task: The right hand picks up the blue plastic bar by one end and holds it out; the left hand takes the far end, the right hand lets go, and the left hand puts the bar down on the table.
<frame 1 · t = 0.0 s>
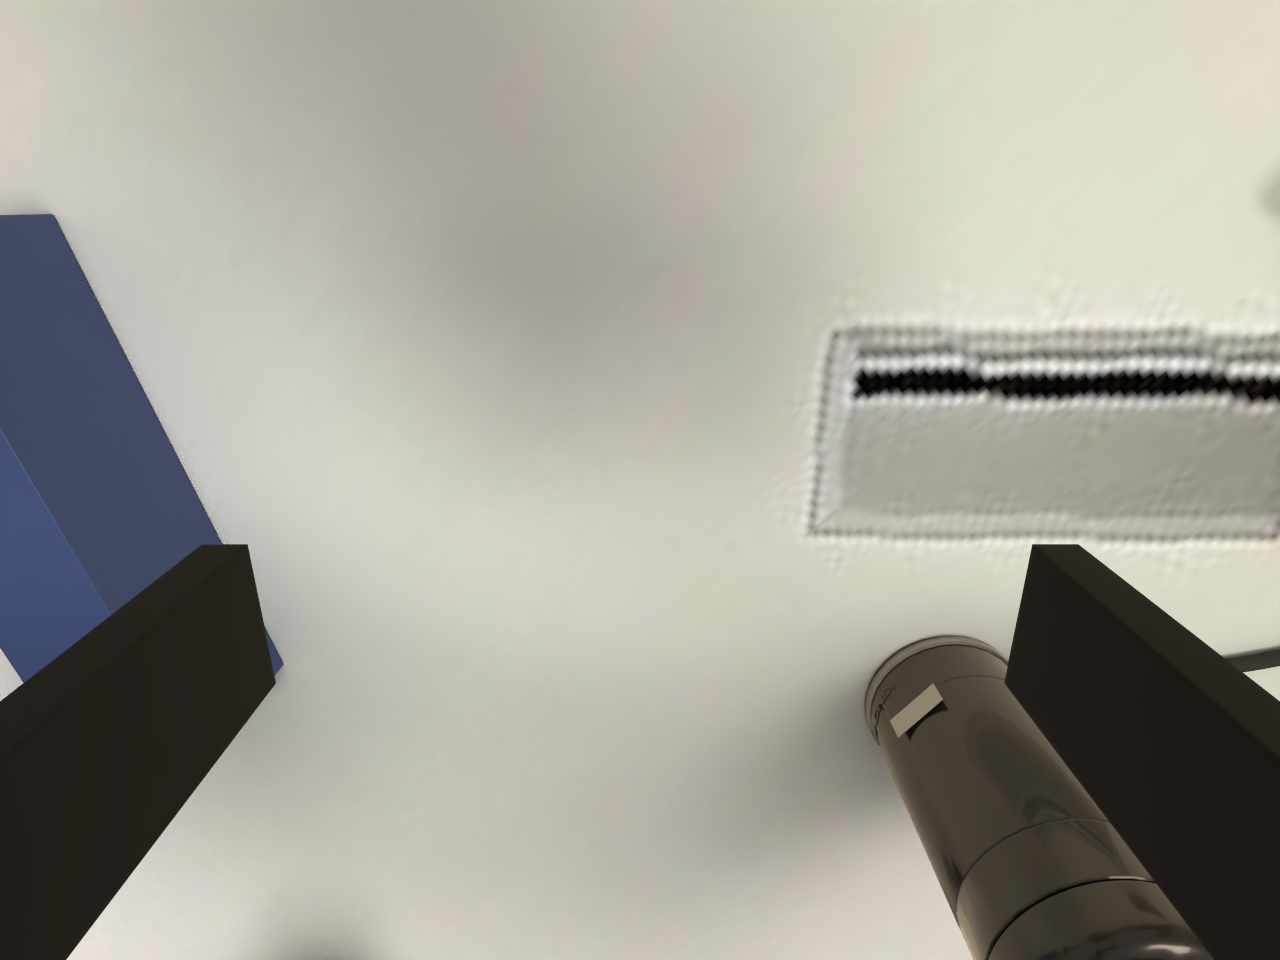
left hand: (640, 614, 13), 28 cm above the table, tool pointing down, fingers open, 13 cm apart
bar: (133, 476, 42), on the table
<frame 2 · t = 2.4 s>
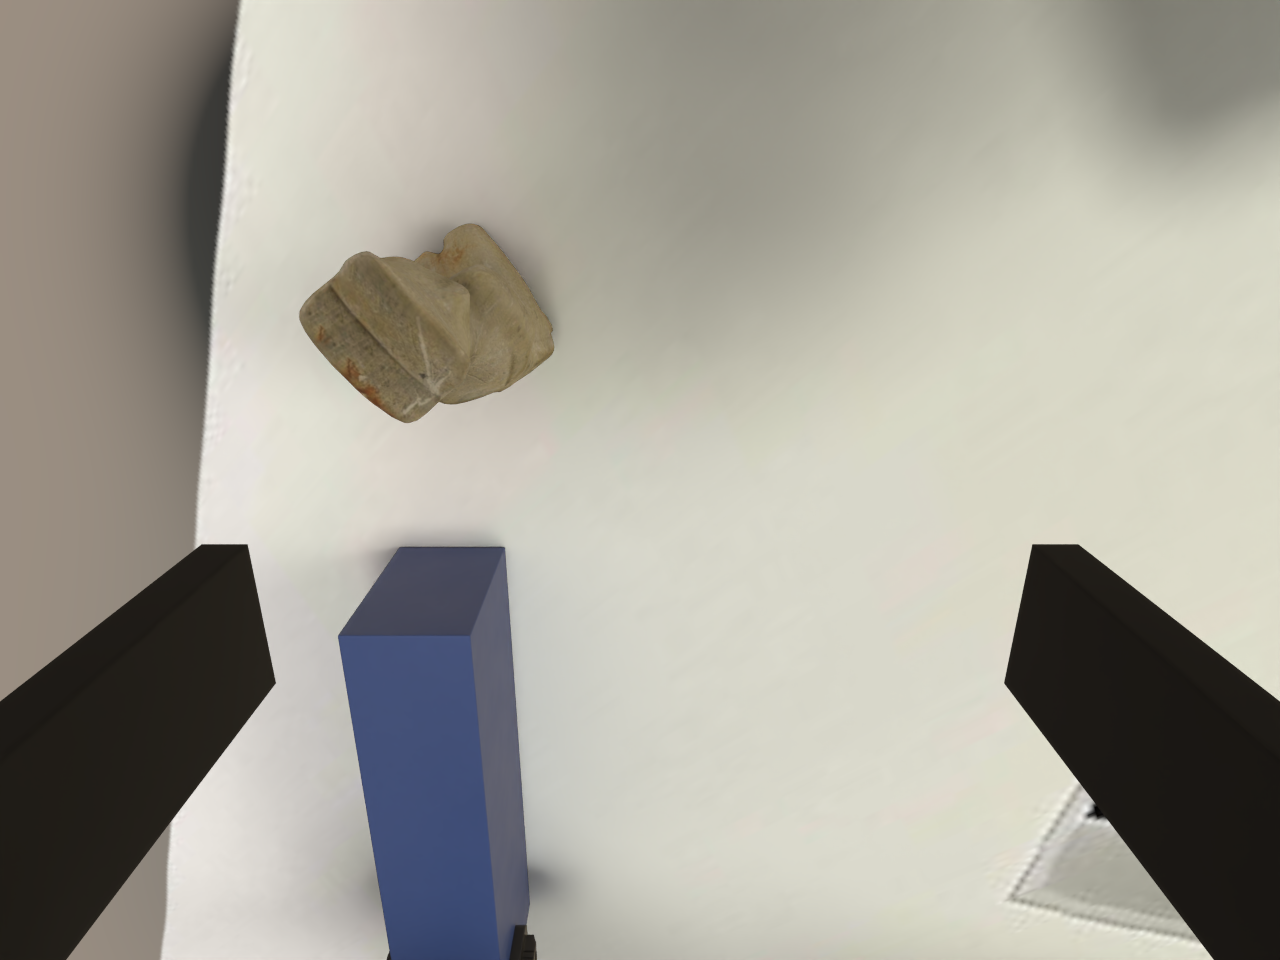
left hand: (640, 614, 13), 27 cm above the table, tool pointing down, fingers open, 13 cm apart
sculpture: (492, 301, 37), on the table
bar: (471, 743, 46), on the table, touching right hand
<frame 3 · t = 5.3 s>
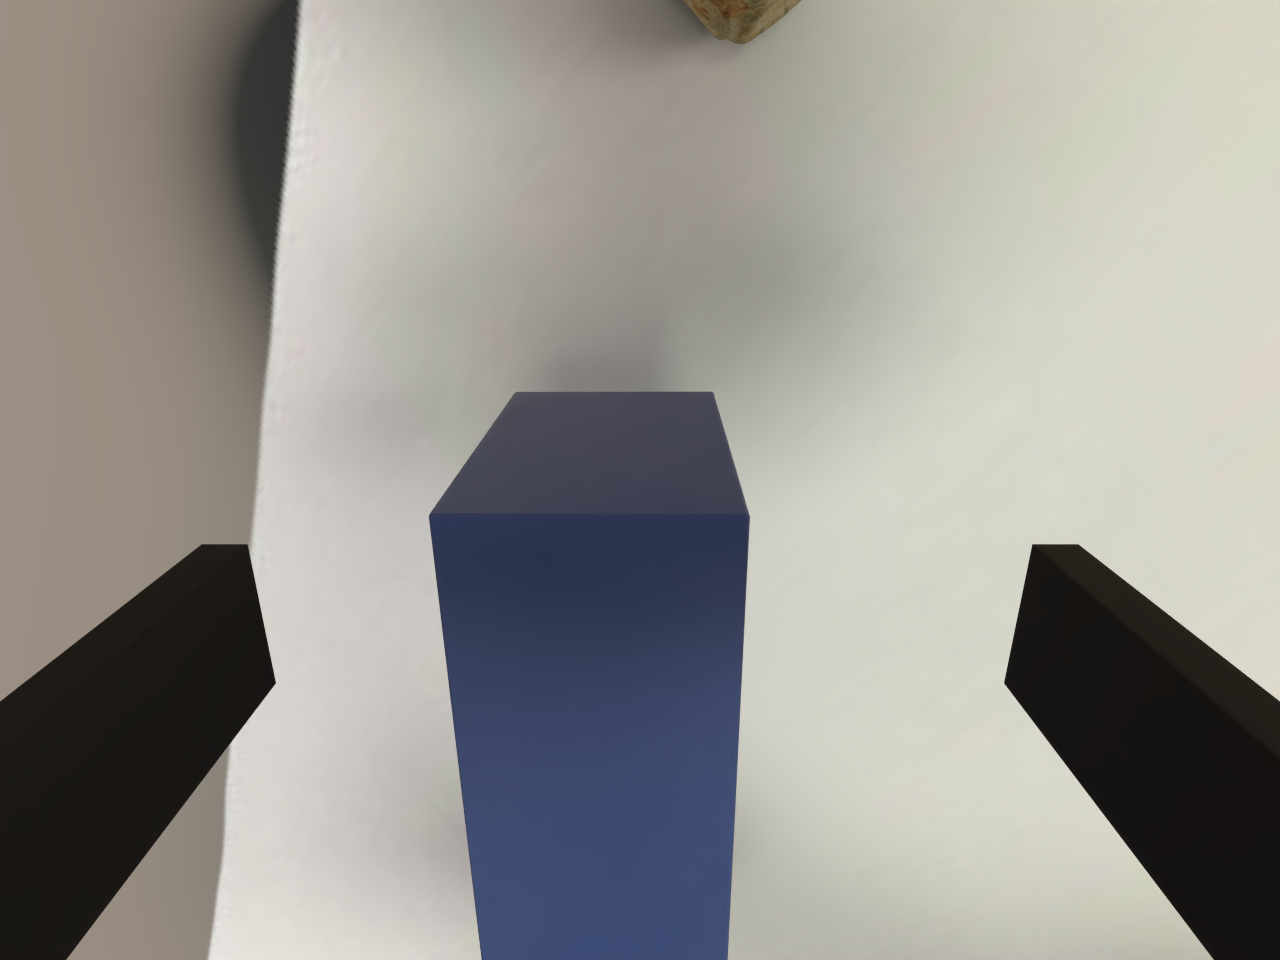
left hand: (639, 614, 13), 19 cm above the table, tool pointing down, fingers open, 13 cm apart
bar: (621, 755, 27), point 9 cm above the table, touching right hand
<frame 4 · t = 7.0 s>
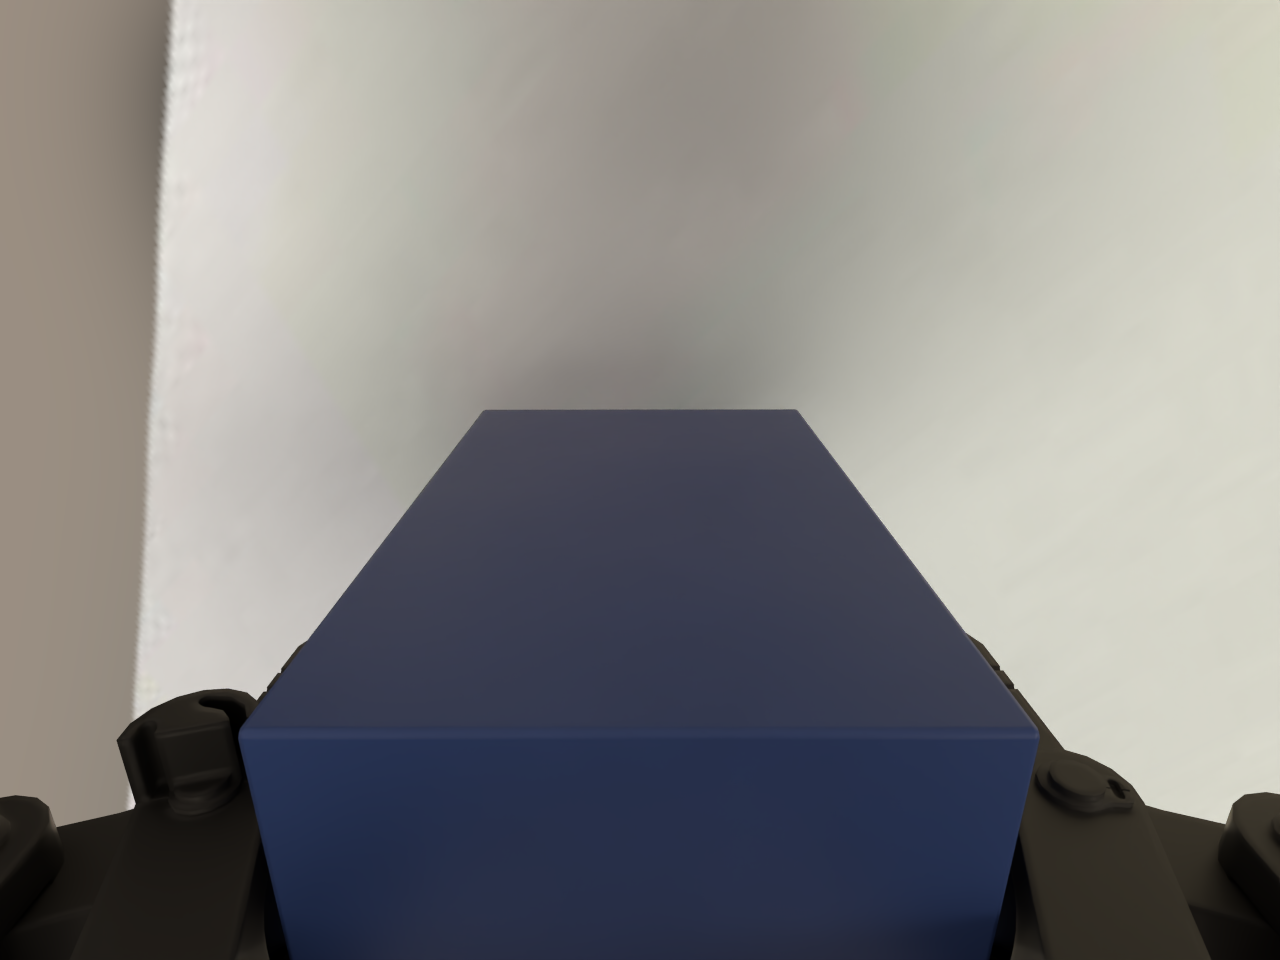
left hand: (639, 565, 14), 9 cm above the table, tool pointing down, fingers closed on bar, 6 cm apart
bar: (641, 932, 19), point 9 cm above the table, touching left hand, right hand
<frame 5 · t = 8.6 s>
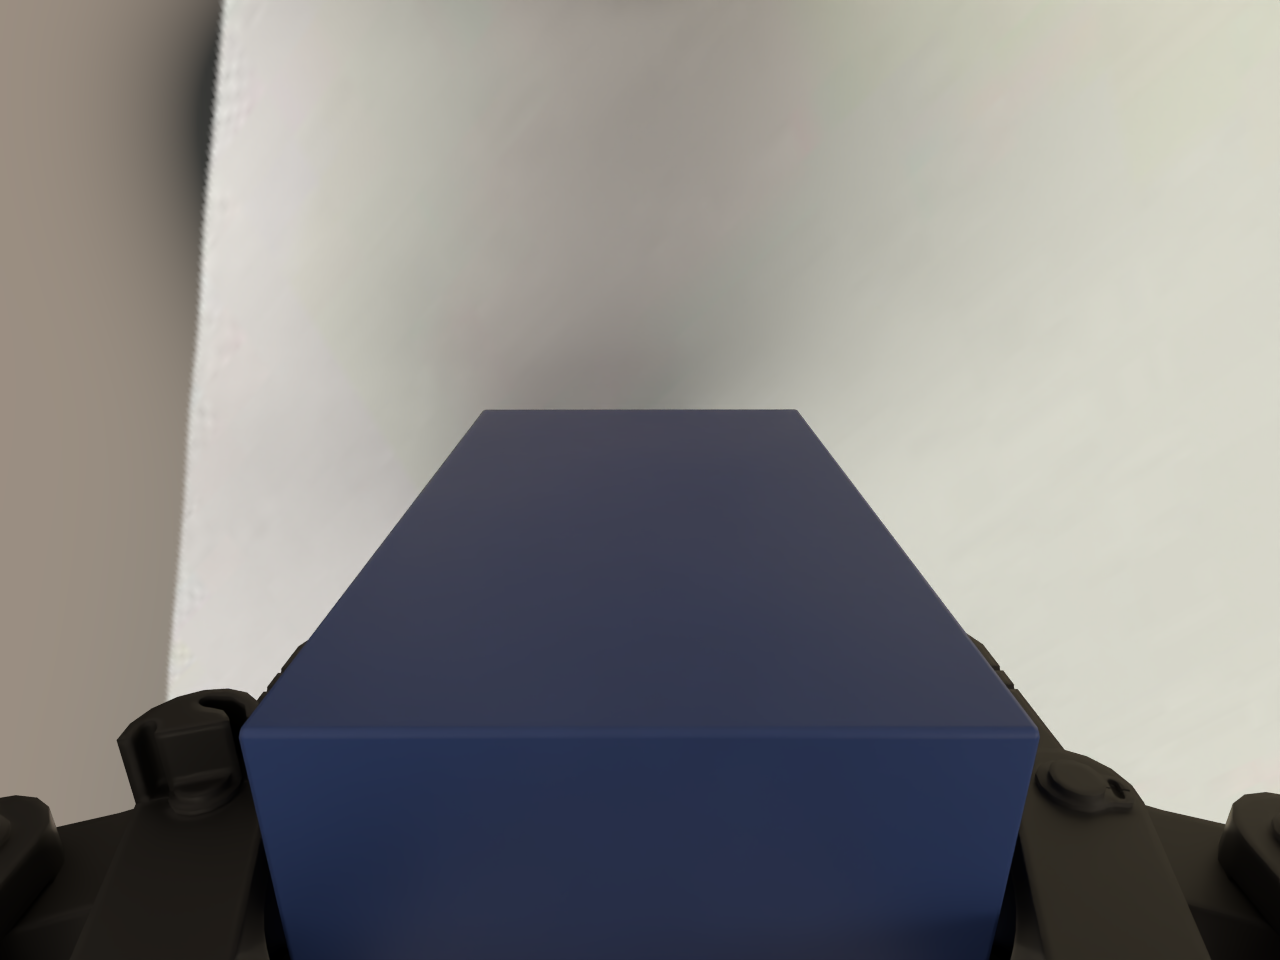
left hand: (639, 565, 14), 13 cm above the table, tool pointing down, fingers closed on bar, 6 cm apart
bar: (640, 931, 19), point 12 cm above the table, touching left hand
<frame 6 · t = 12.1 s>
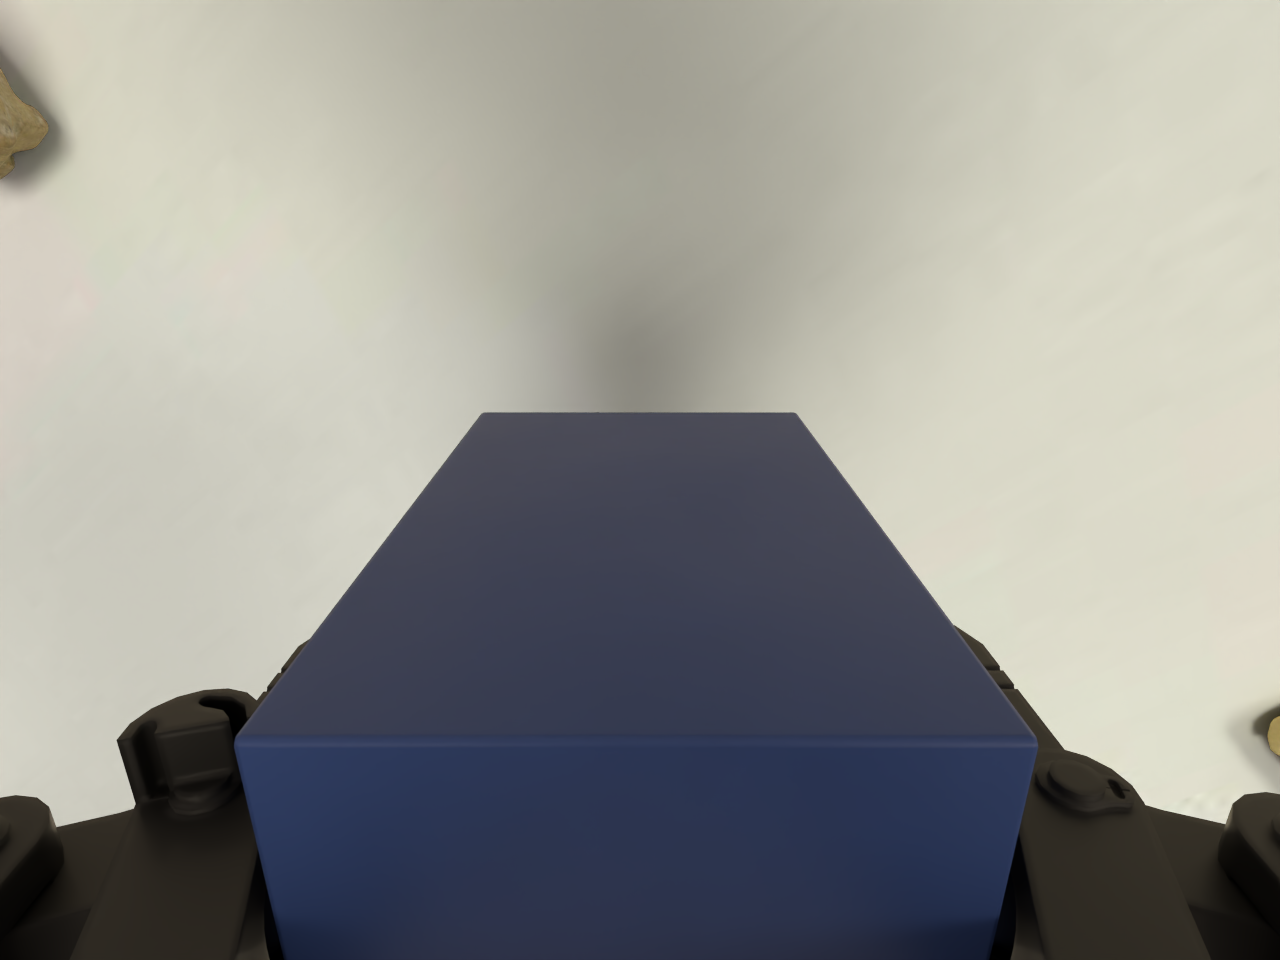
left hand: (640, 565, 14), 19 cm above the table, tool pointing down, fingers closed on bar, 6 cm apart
bar: (639, 934, 19), point 19 cm above the table, touching left hand
when the left hand's fingers open (2 cm above the table, at t = 17.6 s): bar stays where it is, point 1 cm above the table.
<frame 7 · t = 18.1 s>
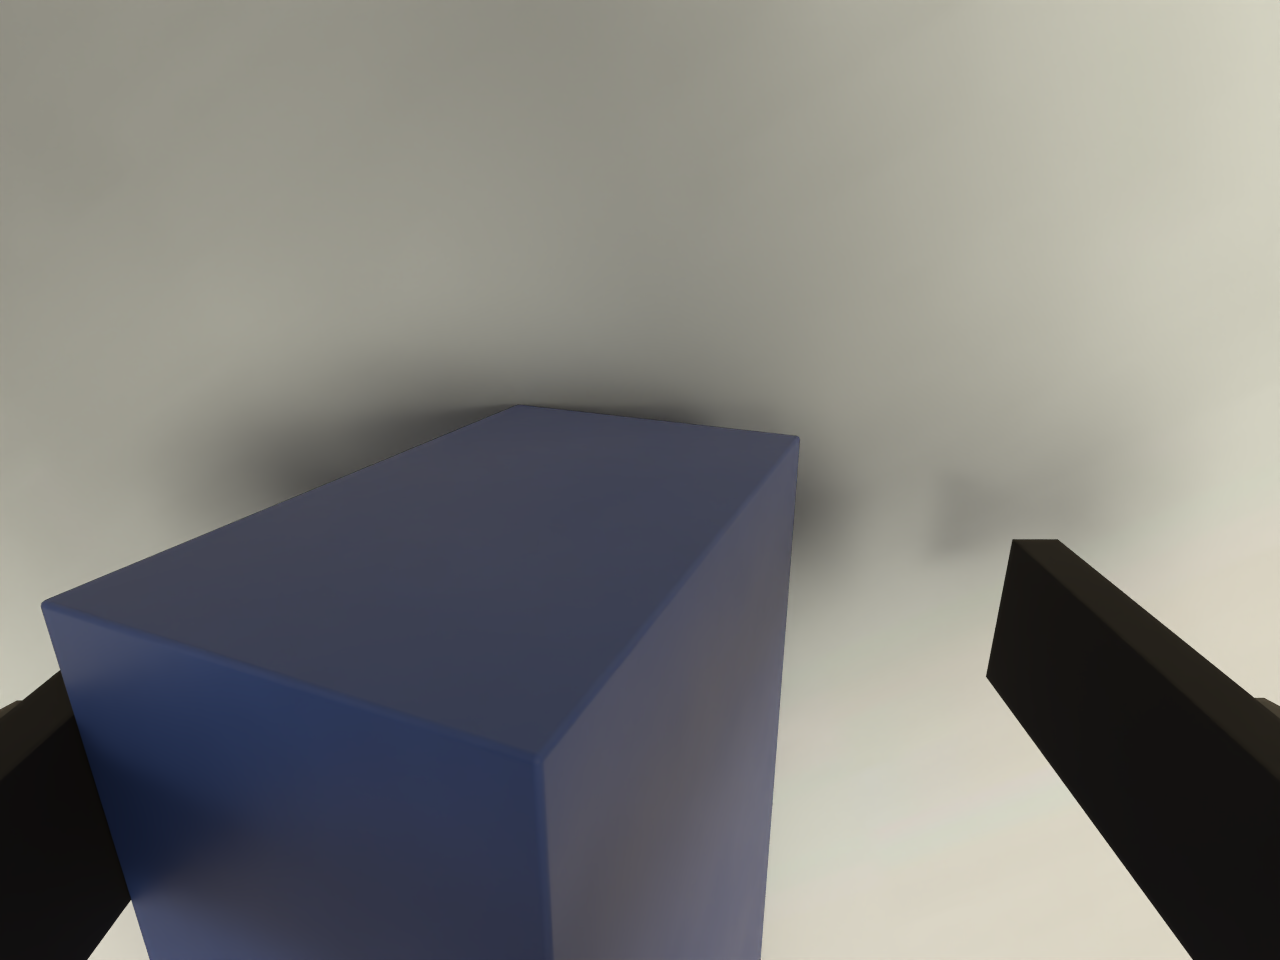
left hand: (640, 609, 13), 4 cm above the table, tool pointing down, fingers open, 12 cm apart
bar: (646, 933, 19), point 1 cm above the table, tilted 23°, touching left hand
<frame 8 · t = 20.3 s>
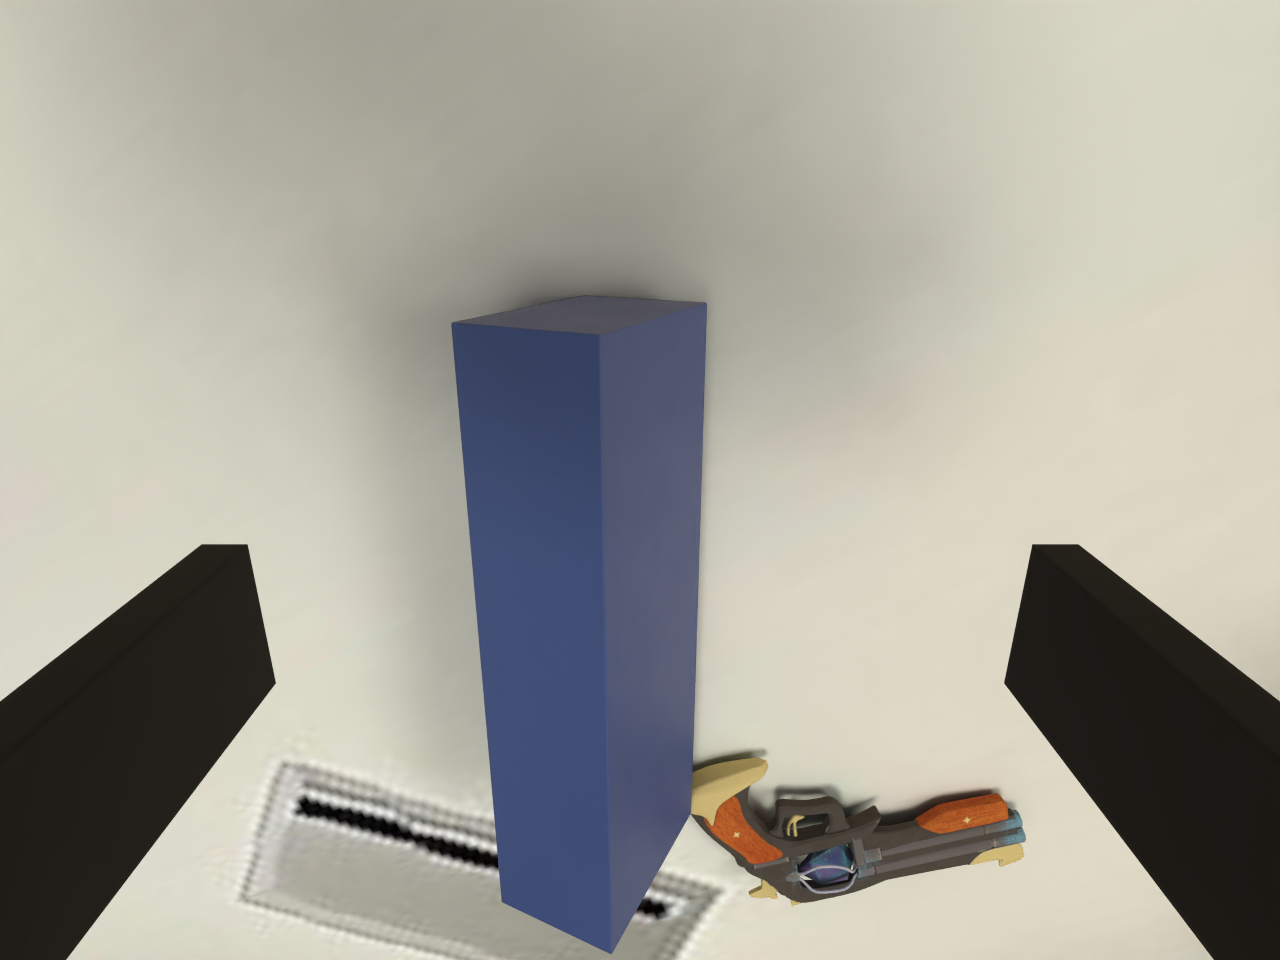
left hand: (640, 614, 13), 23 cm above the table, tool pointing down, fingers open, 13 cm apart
toy gun: (847, 802, 44), on the table, touching bar
bar: (642, 578, 37), point 1 cm above the table, tilted 26°, touching toy gun
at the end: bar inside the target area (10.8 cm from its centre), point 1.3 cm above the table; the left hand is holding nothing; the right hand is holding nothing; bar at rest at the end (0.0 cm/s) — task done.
